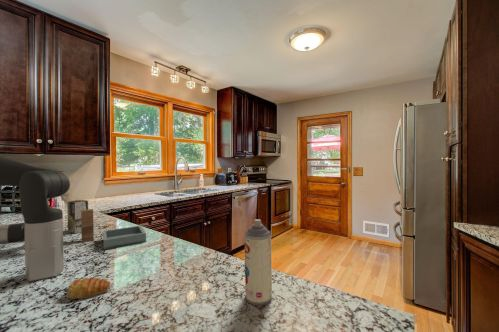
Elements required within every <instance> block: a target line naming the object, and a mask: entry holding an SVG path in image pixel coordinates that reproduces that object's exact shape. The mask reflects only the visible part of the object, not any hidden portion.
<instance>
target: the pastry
mask: <svg viewBox="0 0 499 332" xmlns="http://www.w3.org/2000/svg"><path fill="white" fill-rule="evenodd" d="M110 287H111V282H110V281H109V280H107V279H104V278H100V277H97V278H94V277H93V276H92V277H83V278H82V279H80V278H79V279H78V278H77V279H74V280H73V281H72V282H71V284H69V287H68V290H67V291H66V297H67V298H69V299H70V300H76V299H79V300H83V299H82V298H84V299H86V298H87V297H89V298H92V296H93V297H97V296H100V295H101V294H105V293H106V292H107V291H109V289H110ZM96 295H97V296H96ZM87 299H88V298H87Z"/></svg>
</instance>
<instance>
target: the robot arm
mask: <svg viewBox="0 0 499 332" xmlns="http://www.w3.org/2000/svg"><path fill="white" fill-rule="evenodd" d="M0 186H6V187H18V194H19V201H20V202H19V203H20V211H21V215H22V217H23V222H19V223H10V224H9V223H8V224H0V245H1V246H2V245H8V244H15V243H21V242H24V267H25V268H24V269H25V272H24V273H25V280H28V282H33V281H38V280H42V279H47V278H51V277H56V275H57V274H60V273H62V272H63V271H64V269H65V265H64V264H65V261H64V259H65V258H64V257H65V256H64V225H63V224H64V221H63V220H64V219H63V217H64V214H63V209H60V208H56V207H53V206H50V205H49V201H48V202H47V199H49V200H50V199H54V198H55V197H58V198H59V197H60V196H61V195H63V194H65V193H68V191H69V189H70V186H71V181H70V179H69V177H68V176H67V175H66V174H65V173H63V172H61V171H59V170H56V169H55V170H54V169H47V168H42V167H36V166H33V165H29V164H27V163H24V162H20V161H16V160H15V159H14V160H13V159H12V158H11V159H10V158H8V157H4V156H0Z"/></svg>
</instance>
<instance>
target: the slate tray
mask: <svg viewBox="0 0 499 332" xmlns="http://www.w3.org/2000/svg"><path fill="white" fill-rule="evenodd" d="M102 233H103V234H102V235H103V236H102V237H103V242H102V243H103V250H104V251H105V250H110V249H116V248H121V247H127V246H133V245H138V244H144V243H147V232H146V231H145V230H144V228H143V227H142V225H135V226H129V227H127V226H126V227H120V228H114V229H109V230H103V231H102Z"/></svg>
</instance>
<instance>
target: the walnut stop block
mask: <svg viewBox="0 0 499 332" xmlns="http://www.w3.org/2000/svg"><path fill="white" fill-rule="evenodd" d="M94 226H95V225H94V209H93V208H90V209H89V208H88V210H82V211H81V230H82V232H81V243H88V242H93V241H94V239H95V234H94V233H95V232H94Z"/></svg>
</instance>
